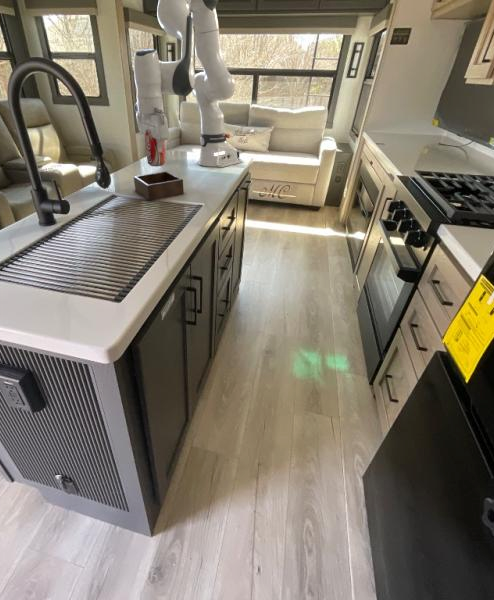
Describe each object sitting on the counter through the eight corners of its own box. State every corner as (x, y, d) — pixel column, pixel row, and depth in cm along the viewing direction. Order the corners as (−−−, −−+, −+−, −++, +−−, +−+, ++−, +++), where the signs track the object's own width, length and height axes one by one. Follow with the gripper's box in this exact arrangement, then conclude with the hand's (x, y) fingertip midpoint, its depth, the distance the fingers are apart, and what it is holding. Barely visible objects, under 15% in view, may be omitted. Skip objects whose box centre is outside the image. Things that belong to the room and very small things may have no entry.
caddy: (168, 184, 139) (166, 171, 136) (183, 193, 129) (182, 179, 126) (135, 190, 133) (133, 176, 130) (149, 200, 123) (147, 185, 120)
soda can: (144, 164, 126) (139, 130, 119) (159, 161, 129) (156, 127, 122) (154, 168, 121) (150, 132, 114) (169, 164, 125) (167, 129, 118)
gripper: (171, 109, 108) (174, 154, 116) (148, 104, 122) (152, 144, 130) (154, 110, 105) (158, 156, 114) (132, 105, 120) (137, 146, 128)
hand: (154, 150), depth 122 cm, fingers closed on soda can, 7 cm apart
